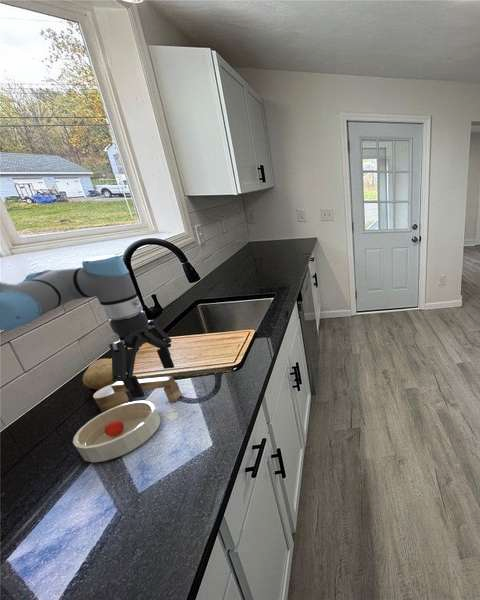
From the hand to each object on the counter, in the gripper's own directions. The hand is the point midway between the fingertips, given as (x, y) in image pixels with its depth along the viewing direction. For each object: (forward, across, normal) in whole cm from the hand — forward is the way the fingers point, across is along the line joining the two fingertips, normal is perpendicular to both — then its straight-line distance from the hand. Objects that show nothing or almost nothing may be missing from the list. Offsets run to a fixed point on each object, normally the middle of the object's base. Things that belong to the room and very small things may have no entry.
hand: (155, 381), depth 90 cm
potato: (+7, +10, +23) cm, 26 cm away
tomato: (+4, -13, +3) cm, 14 cm away
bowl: (+6, -14, +1) cm, 16 cm away
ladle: (+7, 0, +6) cm, 9 cm away
